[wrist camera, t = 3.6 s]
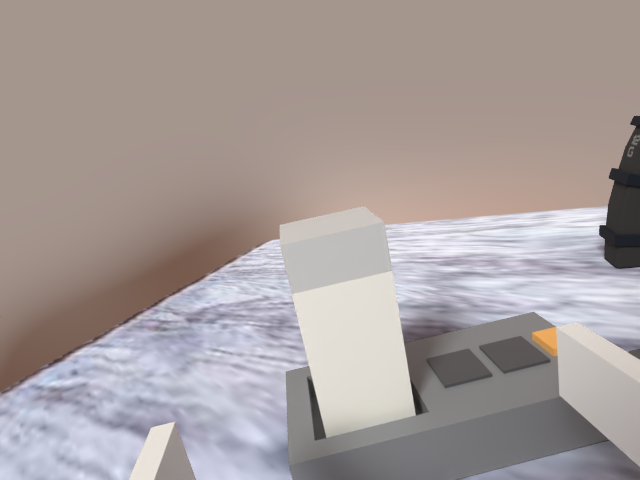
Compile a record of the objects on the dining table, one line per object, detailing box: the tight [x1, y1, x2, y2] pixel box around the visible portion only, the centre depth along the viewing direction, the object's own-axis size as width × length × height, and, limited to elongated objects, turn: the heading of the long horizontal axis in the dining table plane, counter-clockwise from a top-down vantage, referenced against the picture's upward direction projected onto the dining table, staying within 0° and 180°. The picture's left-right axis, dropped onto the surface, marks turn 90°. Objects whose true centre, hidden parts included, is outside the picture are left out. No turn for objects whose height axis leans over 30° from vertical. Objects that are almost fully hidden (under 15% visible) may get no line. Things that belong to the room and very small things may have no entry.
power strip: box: [286, 312, 640, 480], centre depth 24 cm, size 30×8×4 cm, turn 96°
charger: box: [280, 207, 416, 438], centre depth 22 cm, size 5×4×12 cm
